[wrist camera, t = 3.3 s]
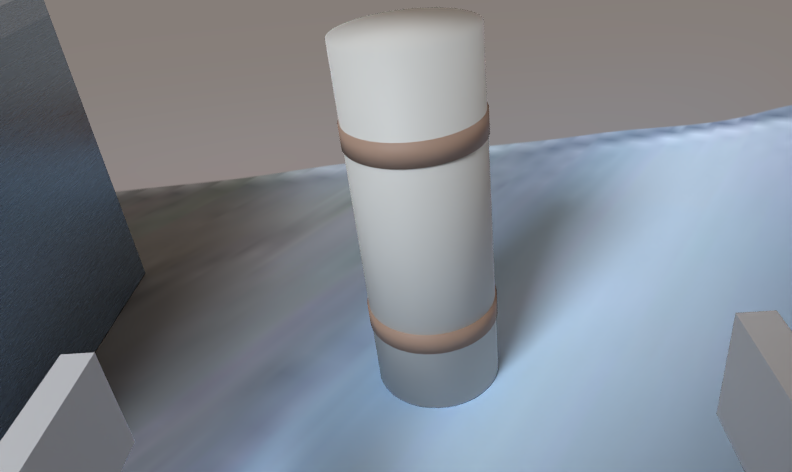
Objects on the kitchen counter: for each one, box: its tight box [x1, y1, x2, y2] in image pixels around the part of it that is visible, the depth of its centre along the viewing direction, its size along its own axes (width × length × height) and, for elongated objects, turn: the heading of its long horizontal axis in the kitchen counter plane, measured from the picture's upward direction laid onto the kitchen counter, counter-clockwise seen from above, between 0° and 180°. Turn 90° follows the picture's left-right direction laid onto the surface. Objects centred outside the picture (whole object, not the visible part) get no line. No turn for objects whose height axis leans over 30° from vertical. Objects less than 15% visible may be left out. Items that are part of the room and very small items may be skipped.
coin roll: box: [325, 7, 498, 408], centre depth 23 cm, size 5×5×13 cm
